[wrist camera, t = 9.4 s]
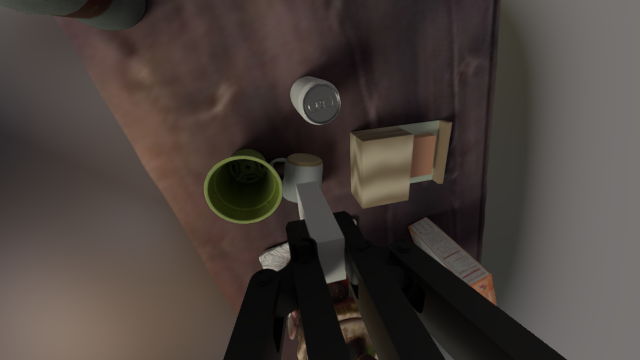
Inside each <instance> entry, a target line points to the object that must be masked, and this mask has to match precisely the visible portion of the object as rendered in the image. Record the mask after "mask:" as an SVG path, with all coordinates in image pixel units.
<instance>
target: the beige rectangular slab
mask: <svg viewBox="0 0 640 360" xmlns="http://www.w3.org/2000/svg"><path fill="white" fill-rule="evenodd" d="M413 139H414V134H412V133H410V132H408V131H405V130H403V129H401V128H399V127H397V126H392V127H384V128H377V129H369V130H362V131H355V132H350V154H351V193H352V194H353V196H354V197H355V198H356V200H357V201H358V203H359V204H360V205H361V207H362V208H368V207H373V206H378V205H384V204H389V203H394V202H399V201H405V200H408V195H409V184H410V172H411V161H412V150H413Z"/></svg>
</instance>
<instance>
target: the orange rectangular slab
mask: <svg viewBox="0 0 640 360" xmlns="http://www.w3.org/2000/svg"><path fill="white" fill-rule="evenodd" d="M435 142H436V135H434V134H432V133H427V134H420V135H414V139H413V150H412V161H411V172H410V178H413V177H418V176H424V175H429V174H432V167H433V158H434V150H435Z"/></svg>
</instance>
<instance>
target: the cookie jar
mask: <svg viewBox="0 0 640 360" xmlns="http://www.w3.org/2000/svg"><path fill="white" fill-rule="evenodd" d="M353 221H354V222H355V224H356V220H355V219H353ZM356 225H357V224H356ZM259 260H260V262H261V264H262V266H263V269H267V268H269V269H274V270H275V271H278V270H280V269H282V268H284V267H285V266H286V265H287V264H288V263H289V261H290V251H289V245H288V242H287V243H284V244H282V245H279V246H277V247H274V248H270V249H268V250H266V251H264V253H263V254H262V255H261V256H260V257H259ZM327 285H328V289H329V292H330V295H331V298H332V301H333V304H334V308H335V311H336V314H337V317H338V320H339V323H340V327H341V330H342V333H343V336H344V339H345V342H346V345H347V349H348V352H349V355H350V358H351V360H377V359H378V357H377V354H376V352H375V349H374V347H373V344H372V342H371V339H370V337H369V334H368V332H367V330H366V327H365V325H364V322H363V320H362V317H361V315H360V312H359V310H358V307H357V305H356V302H355V300H354V297H353V295H352V297H350V296H349V278H348V276H347V273H346V279H344V280H339V281H335V282H331V283H327ZM288 331H289V337H290V339H294V338H296V337H298V339H299V345H298V349H297V355H298V359H299V360H308V357H307V351H306V345H305V340H304V334H303V328H302V322H301V316H300V310H299V309H297V310H295V311H294V312H292V313H290V314H289V319H288Z"/></svg>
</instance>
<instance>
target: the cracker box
mask: <svg viewBox="0 0 640 360" xmlns="http://www.w3.org/2000/svg"><path fill="white" fill-rule="evenodd" d="M408 228H409V231H410V234H411V237H412V239H413V242H414V244H416V245H417V246H418V247H420V248H421V249H422V250H424V251H425V252H426V253H428V254H429V255H430V256H432V257H433V258H434V259H435V260H437V261H438V262H439V263H441V264H442V265H443V266H445V267H446V268H447V269H449V270H450V271H451V272H453V273H454V274H455V275H456V276H458V277H459V278H460V279H462V280H463V281H464V282H466V283H467V284H468V285H470V286H471V287H472V288H474V289H475V290H476V291H477V292H479V293H480V294H481V295H483V296H484V297H485V298H487V299H488V300H489V301H491V302H492V303H493V304H495V305H496V306H497V303H496V298H495V292H494V286H493V281H492V275H491V273H490V272H489V271H487V270H486V269H485V268H484V267H483V266H482V265H481V264H479V263H478V262H477V261H476V260H475V259H474V258H473V257H472V256H470V255H469V254H468V253H467V252H466V251H465V250H464V249H462V248H461V247H460V246H459V245H458V244H457V243H456V242H455V241H453V240H452V239H451V238H450V237H449V236H448V235H447V234H445V233H444V232H443V231H442V230H441V229H440V228H439V227H438V226H436V225H435V224H434V223H433V222H432V221H431V220H430V219H429V218H427V217H424V218H423V219H421V220H419V221H417V222H415V223H413V224H411V225H409V226H408Z"/></svg>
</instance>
